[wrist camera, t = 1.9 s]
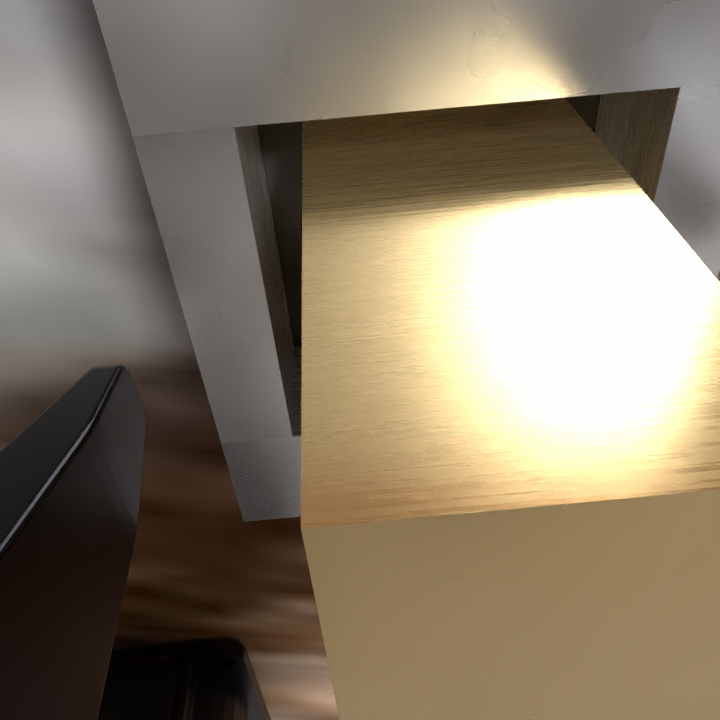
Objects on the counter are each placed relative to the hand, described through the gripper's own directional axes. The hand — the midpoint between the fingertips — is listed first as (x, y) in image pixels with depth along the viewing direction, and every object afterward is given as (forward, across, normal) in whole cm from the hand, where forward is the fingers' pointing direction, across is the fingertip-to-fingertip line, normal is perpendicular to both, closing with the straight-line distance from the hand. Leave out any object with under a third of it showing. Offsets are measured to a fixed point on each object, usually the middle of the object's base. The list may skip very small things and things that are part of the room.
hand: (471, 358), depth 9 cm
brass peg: (+4, 0, 0) cm, 4 cm away
